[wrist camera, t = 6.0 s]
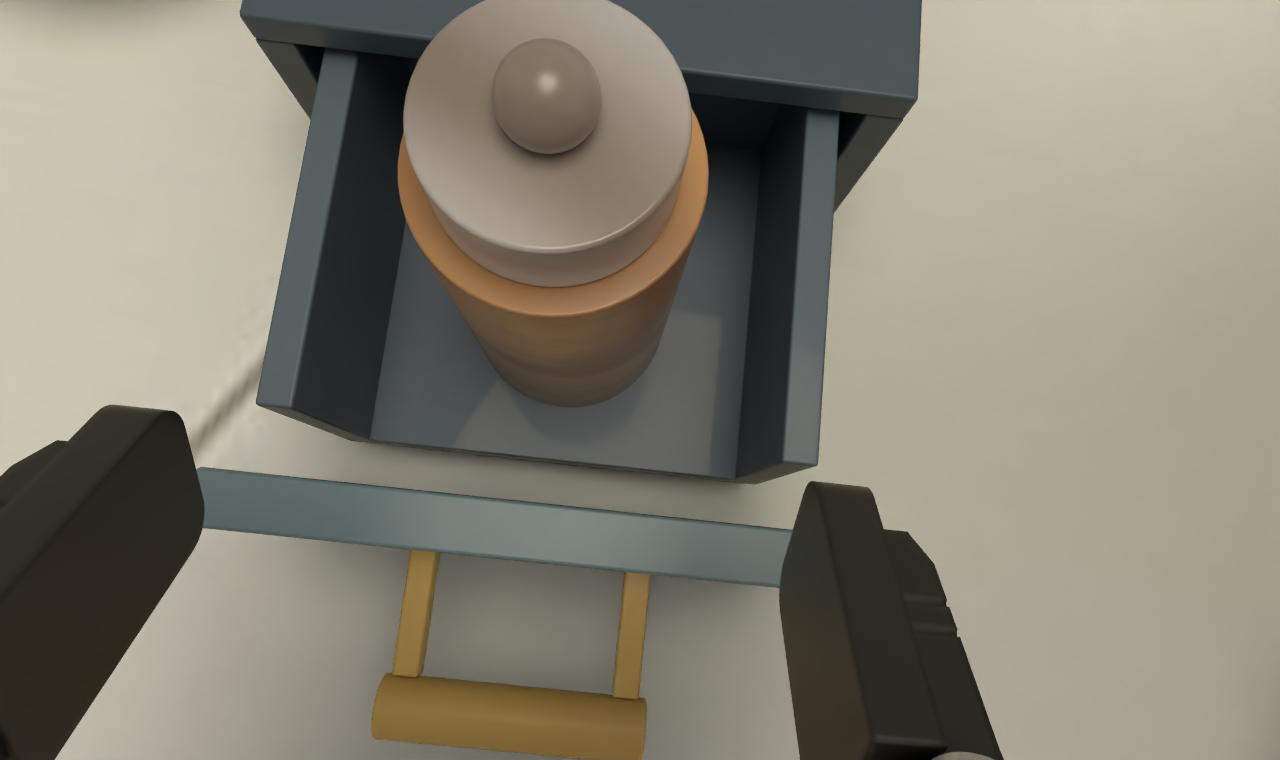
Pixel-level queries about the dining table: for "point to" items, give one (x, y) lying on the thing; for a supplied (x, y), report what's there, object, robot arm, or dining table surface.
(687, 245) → the pepper mill
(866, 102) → the cabinet
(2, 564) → the robot arm
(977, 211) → the dining table surface
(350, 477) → the dining table surface
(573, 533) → the drawer
